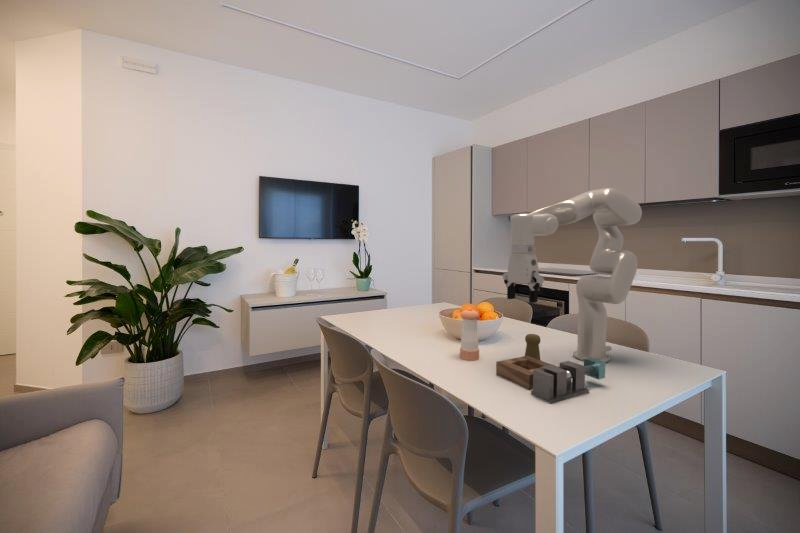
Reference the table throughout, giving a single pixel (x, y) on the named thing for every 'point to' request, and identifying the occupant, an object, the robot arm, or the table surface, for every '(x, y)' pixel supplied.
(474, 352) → the salt shaker
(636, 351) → the table surface
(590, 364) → the steel shaft
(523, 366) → the walnut holder
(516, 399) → the table surface
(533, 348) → the olive brown pear shape
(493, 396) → the table surface
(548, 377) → the shaft bracket
